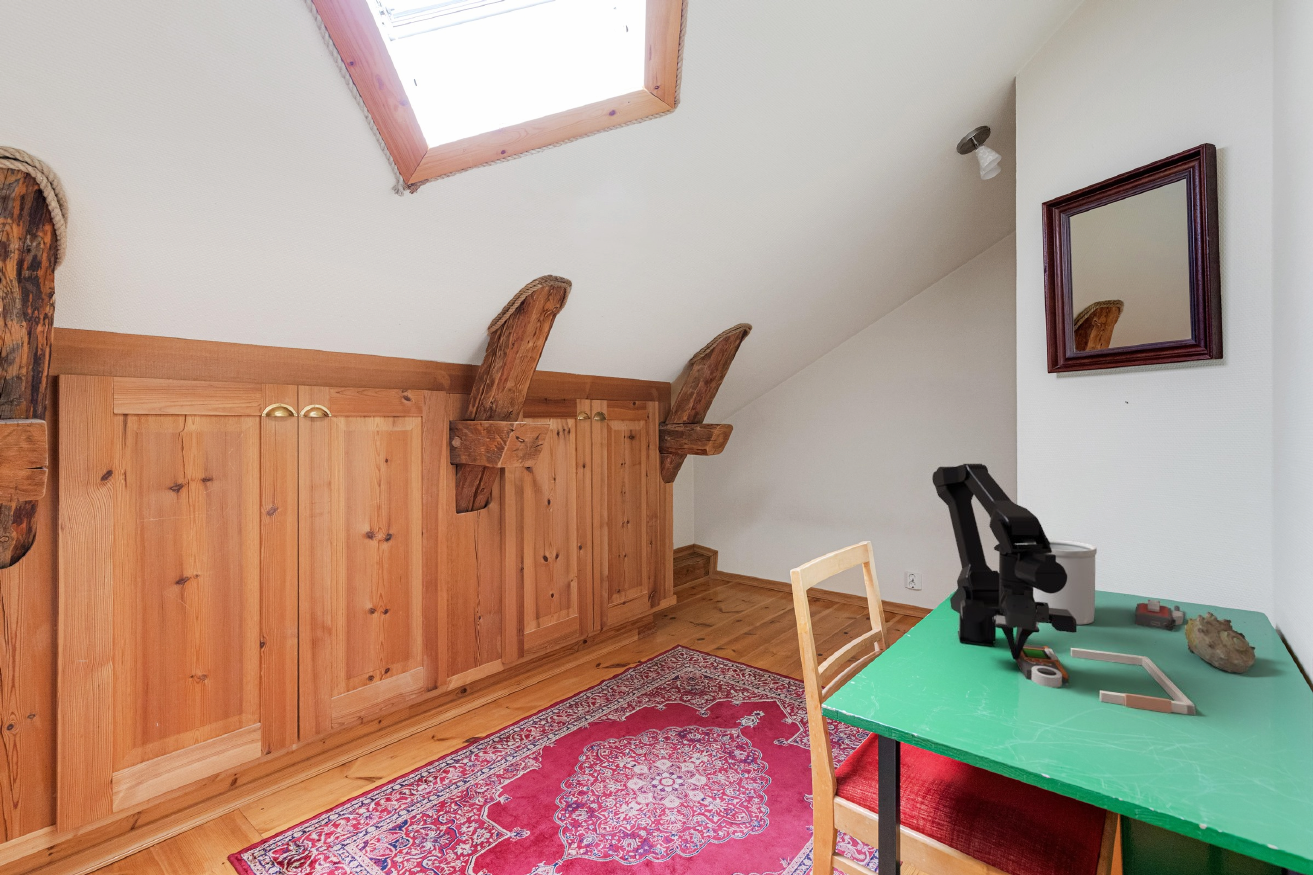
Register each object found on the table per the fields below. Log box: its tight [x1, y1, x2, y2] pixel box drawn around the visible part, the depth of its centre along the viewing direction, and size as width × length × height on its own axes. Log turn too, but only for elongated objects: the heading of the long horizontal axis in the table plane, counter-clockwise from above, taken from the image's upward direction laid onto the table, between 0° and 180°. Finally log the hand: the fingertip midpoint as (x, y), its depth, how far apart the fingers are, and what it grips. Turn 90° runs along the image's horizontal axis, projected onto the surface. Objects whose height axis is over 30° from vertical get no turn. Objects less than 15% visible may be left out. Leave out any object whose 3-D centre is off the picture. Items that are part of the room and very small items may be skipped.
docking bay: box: [1070, 647, 1196, 716], centre depth 110 cm, size 12×23×2 cm, turn 157°
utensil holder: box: [1033, 538, 1098, 625], centre depth 147 cm, size 15×15×18 cm
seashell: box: [1184, 611, 1256, 674], centre depth 118 cm, size 11×15×10 cm
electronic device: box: [1014, 643, 1069, 688], centre depth 115 cm, size 7×3×15 cm
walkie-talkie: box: [1134, 599, 1184, 631], centre depth 145 cm, size 9×4×20 cm
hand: (1015, 658), depth 117 cm, fingers closed
